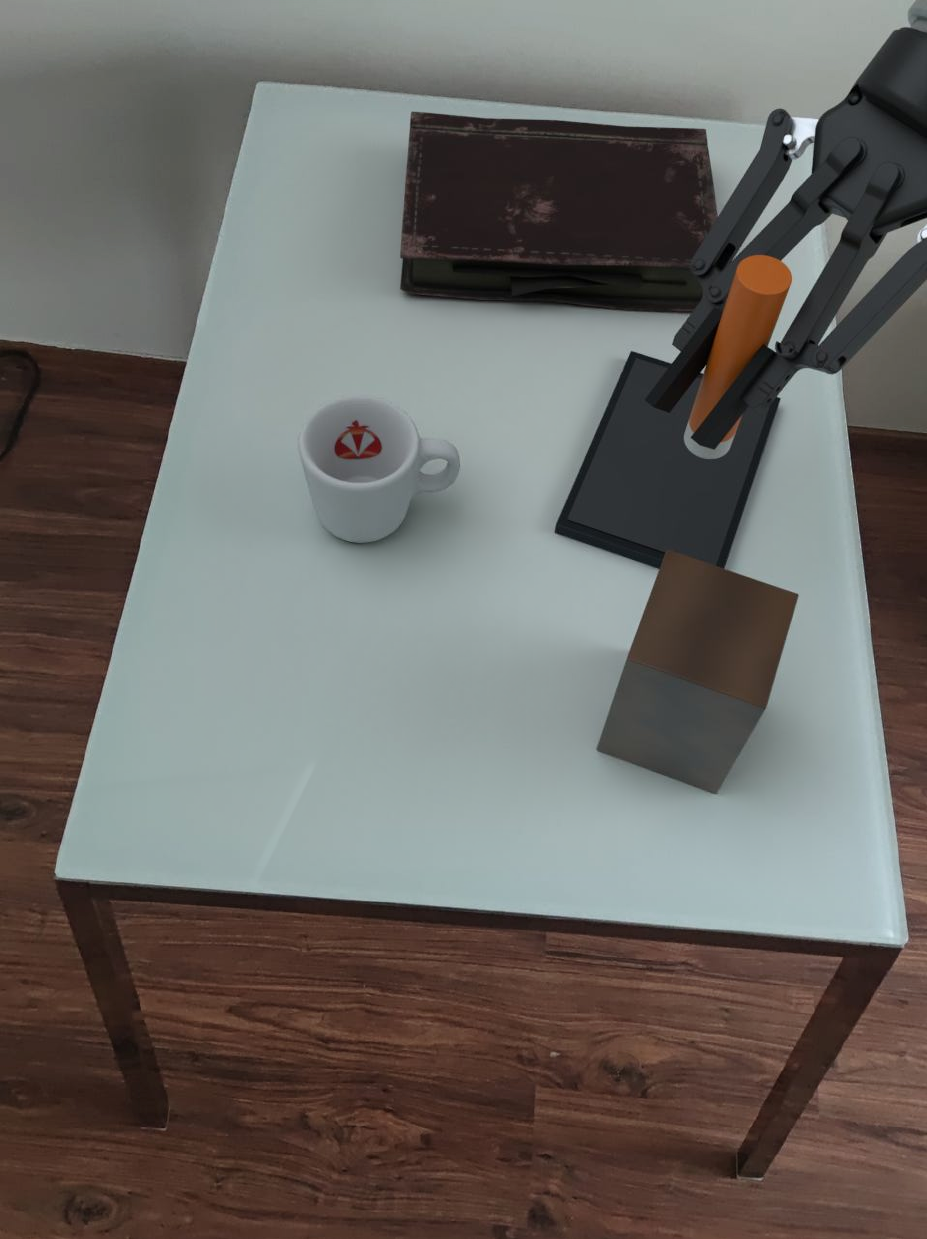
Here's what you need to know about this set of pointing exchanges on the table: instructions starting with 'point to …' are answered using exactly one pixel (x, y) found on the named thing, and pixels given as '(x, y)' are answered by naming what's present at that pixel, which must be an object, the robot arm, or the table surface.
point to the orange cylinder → (739, 338)
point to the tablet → (661, 477)
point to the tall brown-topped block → (698, 671)
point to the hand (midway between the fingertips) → (680, 424)
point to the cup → (368, 465)
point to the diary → (555, 211)
